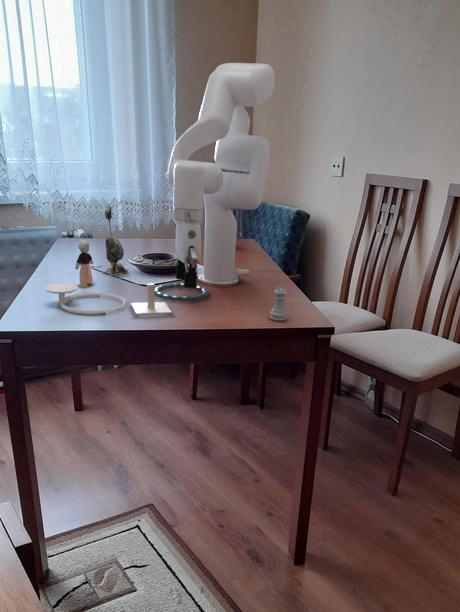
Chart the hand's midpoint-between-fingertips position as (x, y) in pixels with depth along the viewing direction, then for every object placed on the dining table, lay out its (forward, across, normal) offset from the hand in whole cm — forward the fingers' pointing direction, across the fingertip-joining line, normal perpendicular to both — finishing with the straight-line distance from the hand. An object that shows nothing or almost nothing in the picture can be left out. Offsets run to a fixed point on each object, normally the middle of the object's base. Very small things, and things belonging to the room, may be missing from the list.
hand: (185, 283), depth 148 cm
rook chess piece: (+6, -16, -21) cm, 27 cm away
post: (+6, -6, +10) cm, 14 cm away
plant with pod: (+5, +34, +14) cm, 37 cm away
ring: (+4, +8, 0) cm, 9 cm away
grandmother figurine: (+6, +22, +24) cm, 33 cm away
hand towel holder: (+6, +1, +26) cm, 27 cm away
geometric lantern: (+3, +76, -34) cm, 83 cm away
